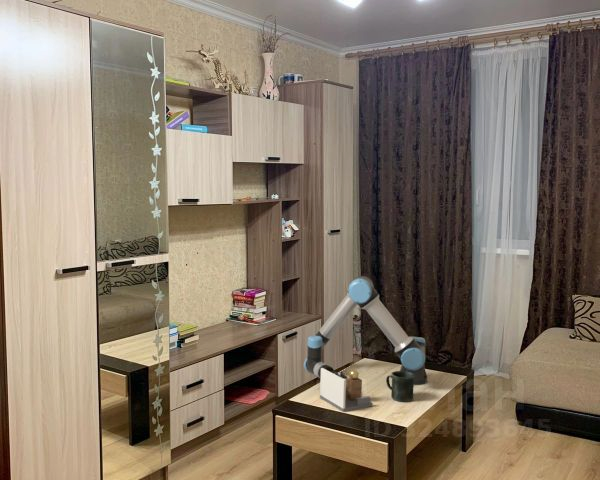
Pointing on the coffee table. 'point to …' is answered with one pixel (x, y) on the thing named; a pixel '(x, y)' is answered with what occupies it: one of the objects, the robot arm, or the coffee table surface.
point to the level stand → (339, 393)
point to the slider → (353, 386)
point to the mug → (401, 385)
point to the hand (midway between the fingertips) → (350, 385)
